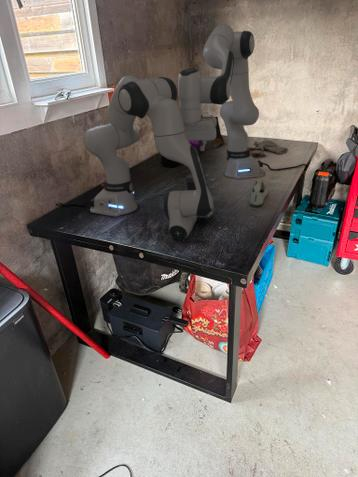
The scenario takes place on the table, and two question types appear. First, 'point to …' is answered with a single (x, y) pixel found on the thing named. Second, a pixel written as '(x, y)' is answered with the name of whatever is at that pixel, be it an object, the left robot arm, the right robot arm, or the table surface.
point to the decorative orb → (195, 143)
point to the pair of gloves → (268, 146)
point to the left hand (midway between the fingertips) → (193, 201)
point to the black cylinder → (191, 186)
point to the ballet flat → (258, 193)
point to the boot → (217, 136)
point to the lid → (189, 178)
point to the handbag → (168, 162)
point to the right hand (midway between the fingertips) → (191, 150)
